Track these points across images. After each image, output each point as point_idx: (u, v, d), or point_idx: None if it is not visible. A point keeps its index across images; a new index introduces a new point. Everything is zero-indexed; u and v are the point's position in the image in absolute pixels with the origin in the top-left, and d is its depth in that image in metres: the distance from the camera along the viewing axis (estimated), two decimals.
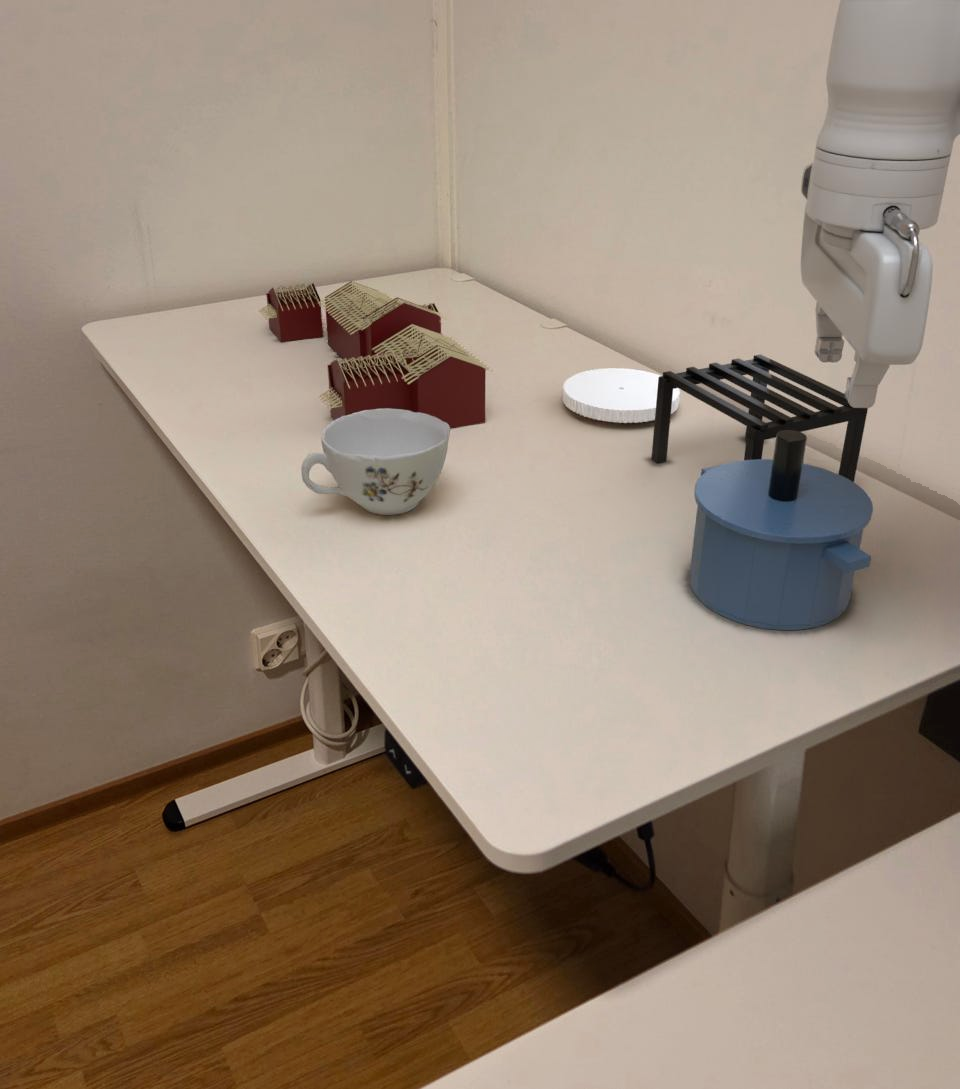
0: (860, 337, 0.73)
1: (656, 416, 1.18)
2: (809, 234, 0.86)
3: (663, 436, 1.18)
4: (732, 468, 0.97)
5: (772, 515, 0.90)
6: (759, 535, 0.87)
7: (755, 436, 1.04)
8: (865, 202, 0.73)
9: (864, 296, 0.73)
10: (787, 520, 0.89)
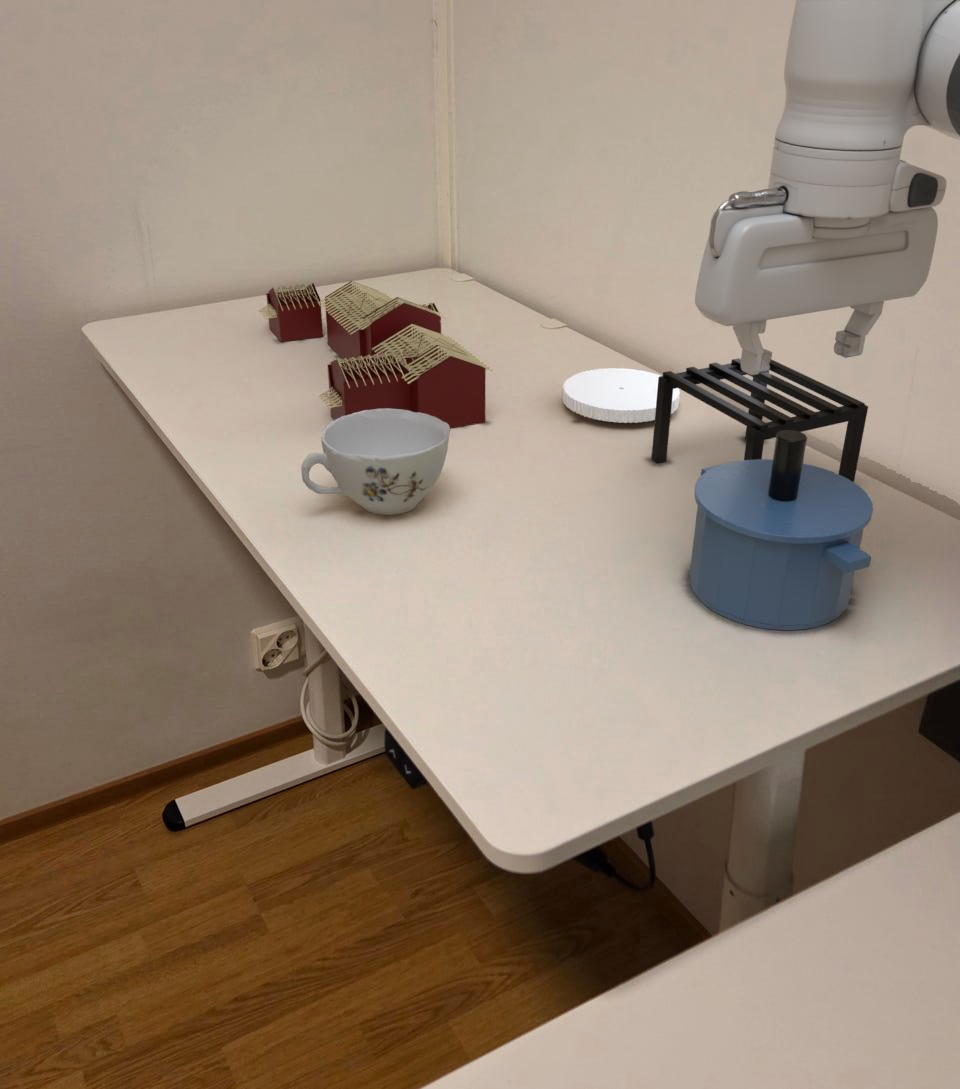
0: None
1: (656, 416, 1.18)
2: None
3: (663, 436, 1.18)
4: (732, 468, 0.97)
5: (772, 515, 0.90)
6: (759, 535, 0.87)
7: (755, 436, 1.04)
8: (772, 179, 0.80)
9: None
10: (787, 520, 0.89)
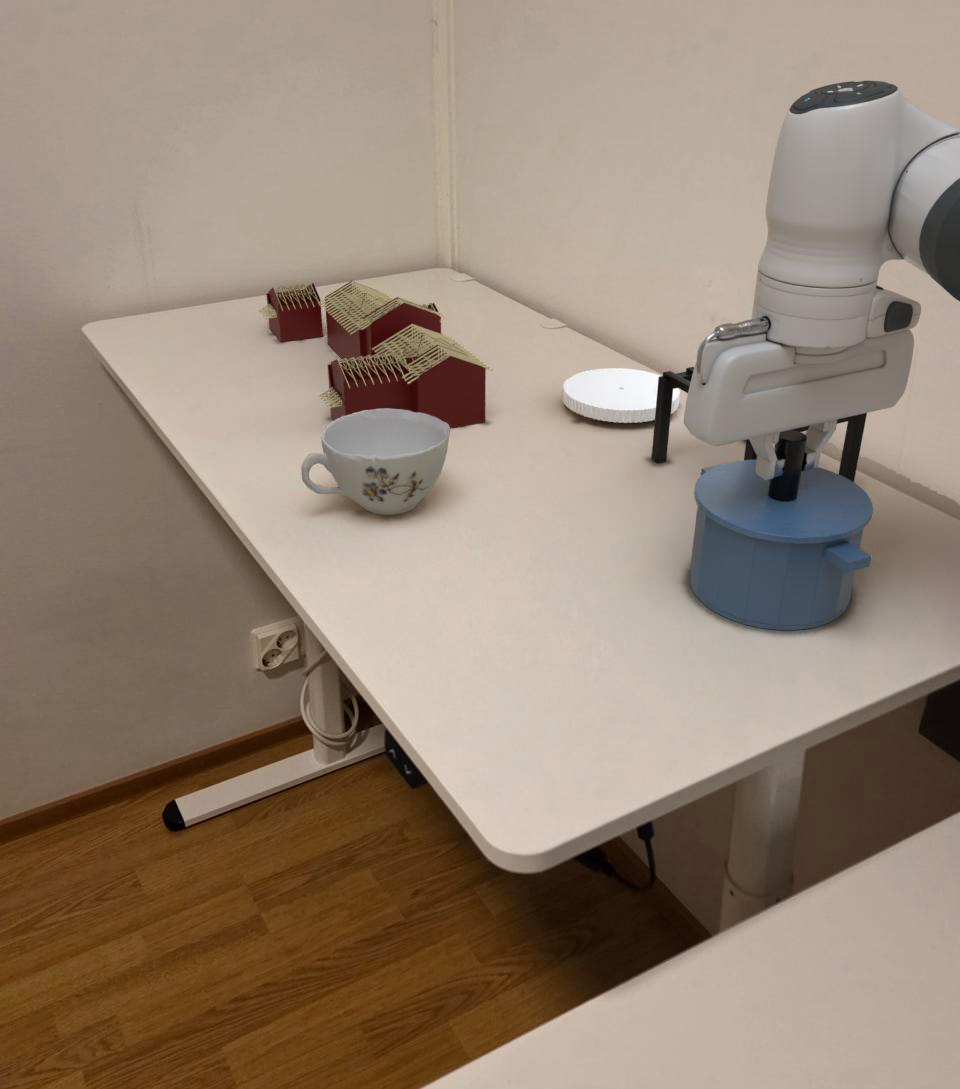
0: None
1: (656, 416, 1.18)
2: None
3: (663, 436, 1.18)
4: (732, 468, 0.97)
5: (772, 515, 0.90)
6: (759, 535, 0.87)
7: None
8: (755, 307, 0.85)
9: None
10: (787, 520, 0.89)
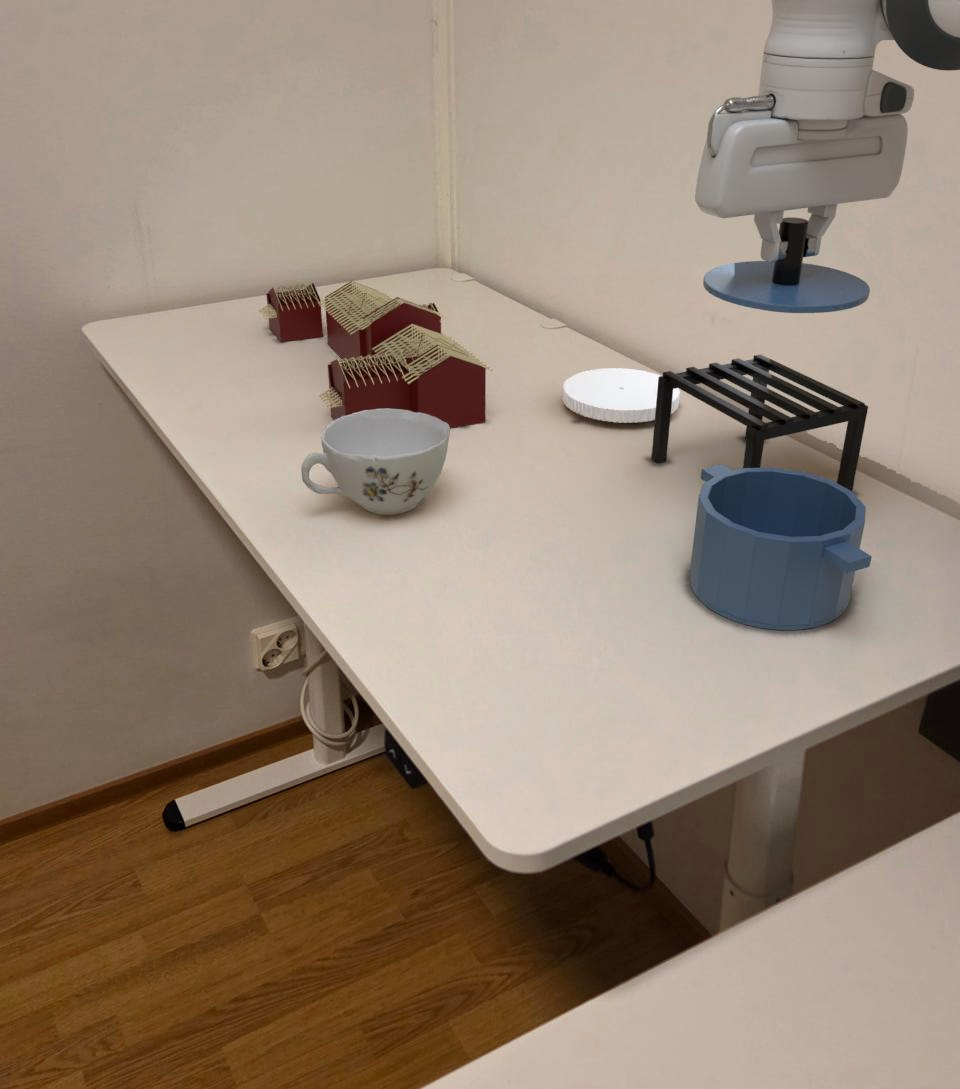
0: None
1: (656, 416, 1.18)
2: None
3: (663, 436, 1.18)
4: (738, 266, 1.04)
5: (776, 293, 0.96)
6: (765, 306, 0.94)
7: (755, 436, 1.04)
8: (761, 89, 0.91)
9: None
10: (790, 296, 0.96)
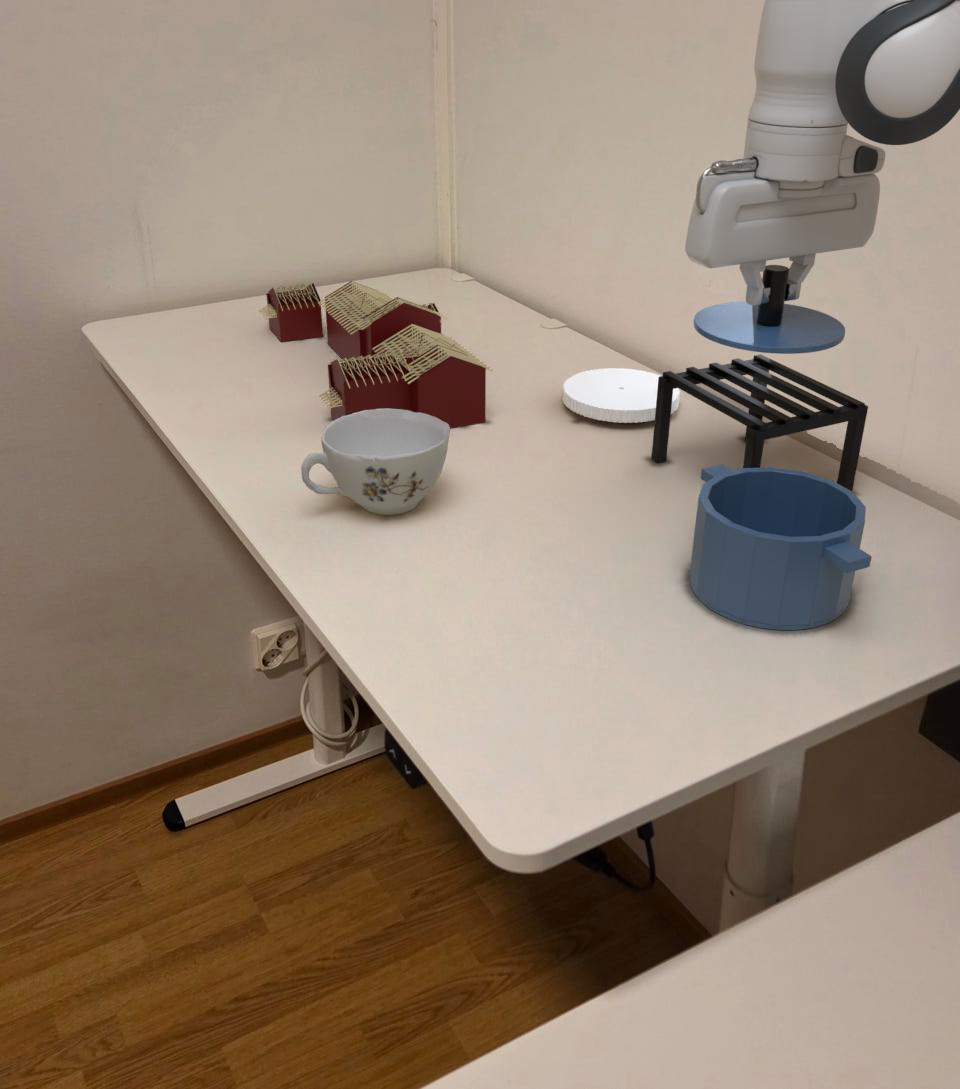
0: None
1: (656, 416, 1.18)
2: None
3: (663, 436, 1.18)
4: (726, 307, 1.14)
5: (759, 335, 1.06)
6: (748, 347, 1.04)
7: (755, 436, 1.04)
8: (745, 151, 1.01)
9: None
10: (772, 337, 1.05)
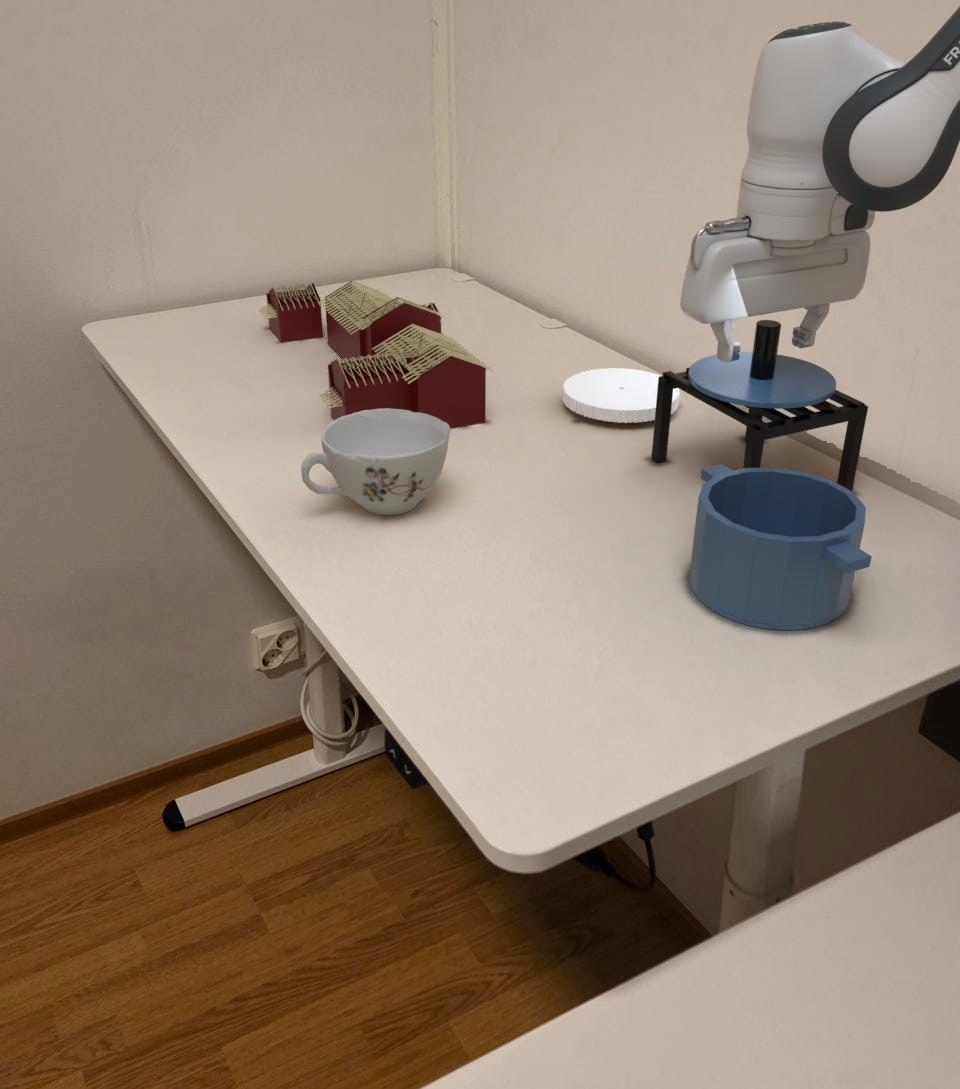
0: None
1: (656, 416, 1.18)
2: None
3: (663, 436, 1.18)
4: None
5: (752, 389, 1.09)
6: (741, 402, 1.06)
7: (755, 436, 1.04)
8: (739, 210, 1.03)
9: None
10: (764, 392, 1.08)
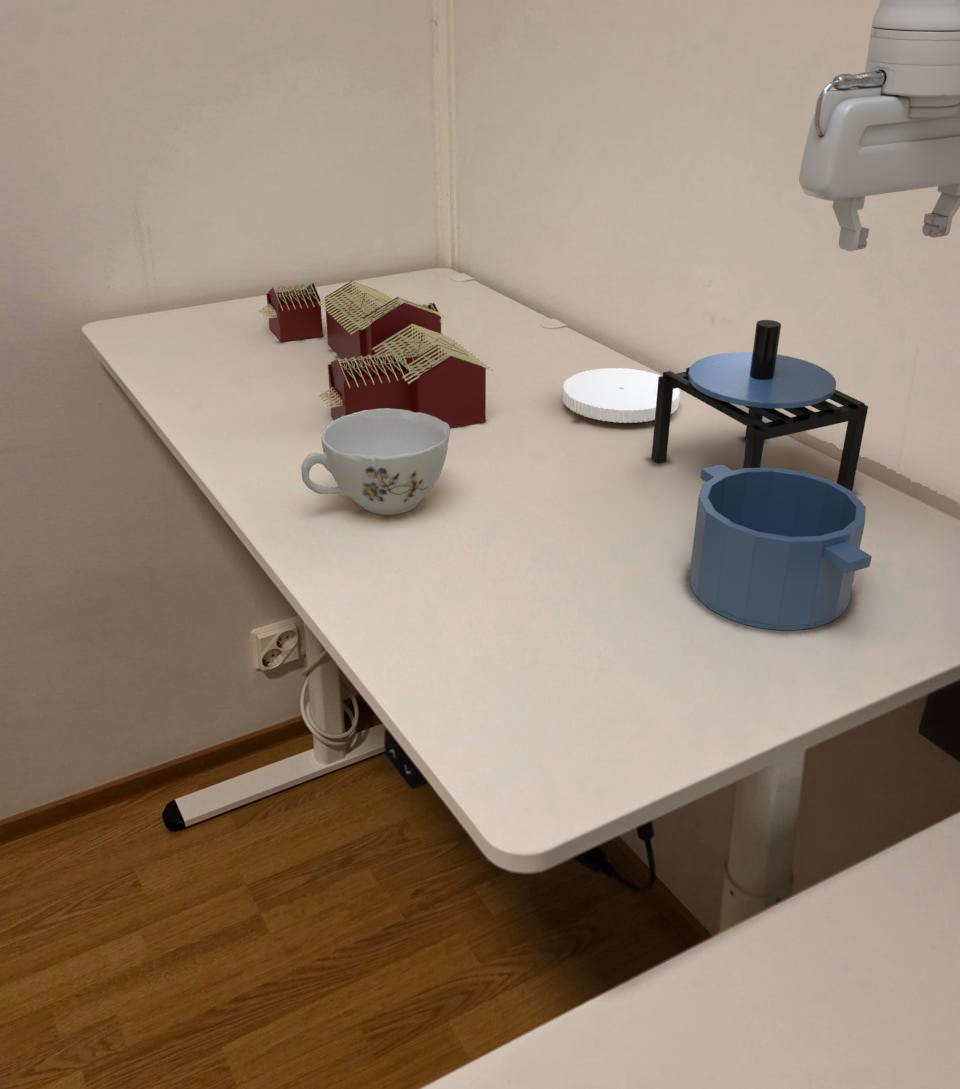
0: None
1: (656, 416, 1.18)
2: None
3: (663, 436, 1.18)
4: (720, 358, 1.16)
5: (752, 389, 1.09)
6: (741, 402, 1.06)
7: (755, 436, 1.04)
8: (869, 65, 0.88)
9: None
10: (764, 392, 1.08)
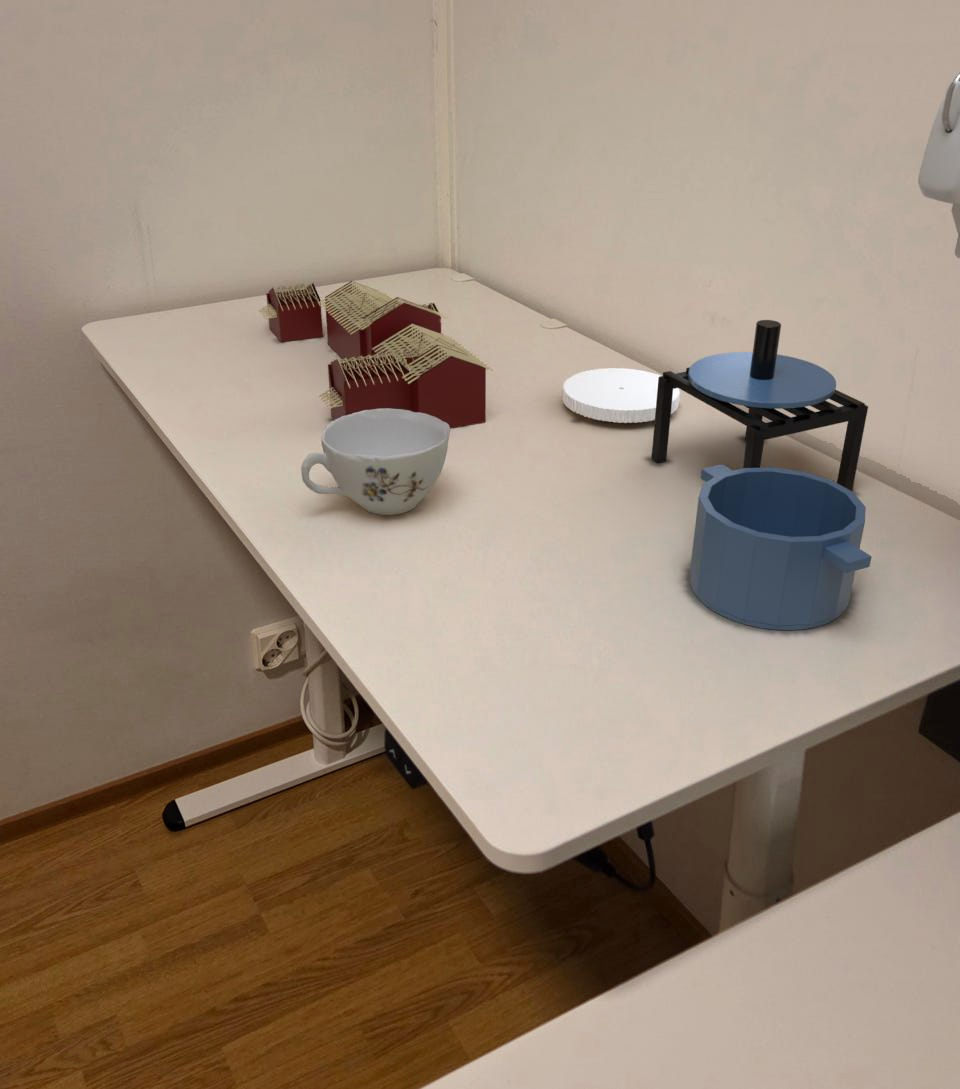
0: None
1: (656, 416, 1.18)
2: None
3: (663, 436, 1.18)
4: (720, 358, 1.16)
5: (752, 389, 1.09)
6: (741, 402, 1.06)
7: (755, 436, 1.04)
8: None
9: None
10: (764, 392, 1.08)
